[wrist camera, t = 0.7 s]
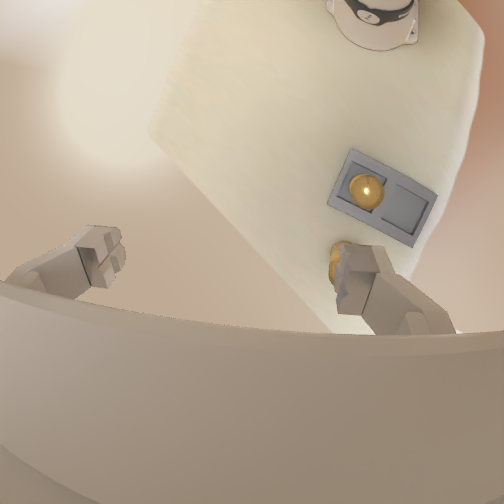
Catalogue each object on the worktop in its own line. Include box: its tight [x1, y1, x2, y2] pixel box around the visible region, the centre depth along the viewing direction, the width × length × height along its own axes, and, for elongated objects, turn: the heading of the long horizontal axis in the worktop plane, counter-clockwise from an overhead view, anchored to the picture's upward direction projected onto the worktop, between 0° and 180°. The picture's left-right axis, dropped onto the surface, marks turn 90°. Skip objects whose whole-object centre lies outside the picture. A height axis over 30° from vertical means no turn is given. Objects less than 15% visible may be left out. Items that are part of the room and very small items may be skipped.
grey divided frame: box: [327, 148, 438, 248], centre depth 48 cm, size 11×18×2 cm, turn 68°
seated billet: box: [348, 173, 384, 209], centre depth 44 cm, size 5×5×11 cm
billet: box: [329, 241, 351, 285], centre depth 49 cm, size 5×5×11 cm
